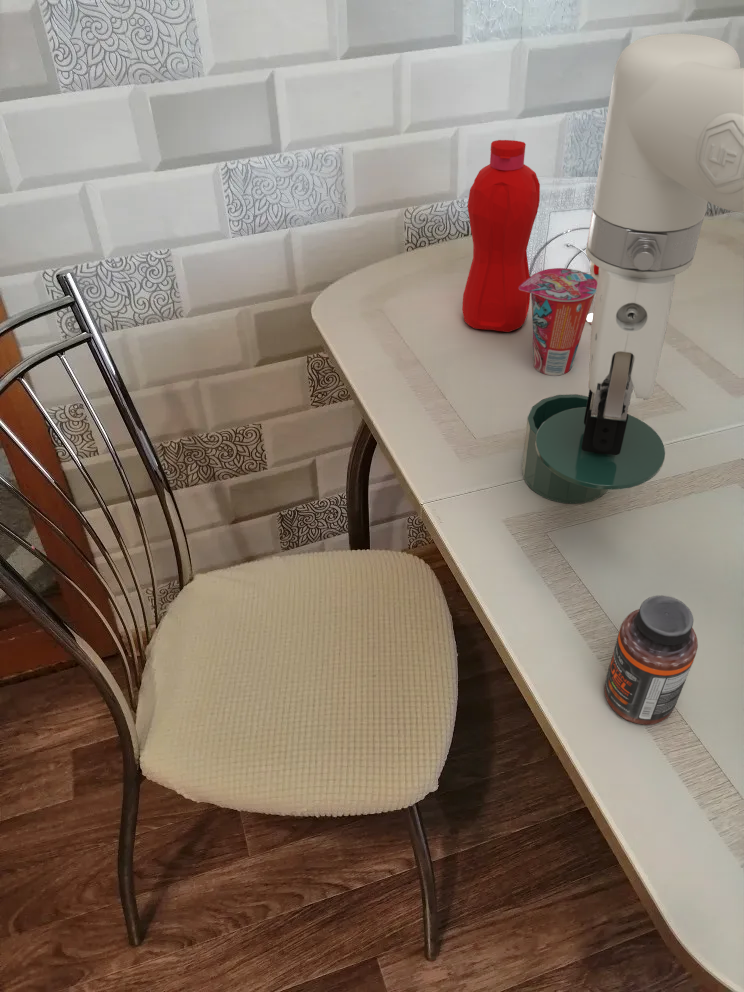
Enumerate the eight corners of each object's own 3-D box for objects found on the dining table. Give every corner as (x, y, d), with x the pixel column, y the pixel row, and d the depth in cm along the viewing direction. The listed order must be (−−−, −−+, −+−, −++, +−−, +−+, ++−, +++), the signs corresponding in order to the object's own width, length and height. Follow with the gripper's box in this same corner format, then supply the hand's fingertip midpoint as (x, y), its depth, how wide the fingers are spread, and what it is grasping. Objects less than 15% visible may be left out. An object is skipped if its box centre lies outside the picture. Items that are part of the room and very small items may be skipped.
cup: (553, 341, 111) (564, 261, 103) (597, 368, 106) (612, 286, 98) (502, 363, 108) (509, 281, 100) (545, 392, 102) (556, 308, 94)
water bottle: (532, 300, 120) (551, 126, 104) (522, 337, 112) (541, 156, 96) (471, 294, 122) (480, 123, 106) (458, 330, 115) (465, 151, 98)
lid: (644, 414, 74) (659, 354, 70) (678, 493, 66) (697, 430, 62) (526, 417, 74) (533, 357, 70) (545, 496, 66) (554, 434, 62)
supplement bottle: (589, 679, 70) (611, 594, 62) (649, 661, 71) (677, 575, 64) (626, 737, 66) (654, 653, 58) (688, 716, 67) (724, 631, 59)
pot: (601, 445, 94) (612, 393, 89) (620, 502, 87) (633, 448, 82) (516, 447, 94) (522, 395, 89) (528, 504, 87) (535, 451, 82)
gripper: (703, 294, 50) (645, 507, 63) (692, 194, 62) (645, 390, 74) (582, 284, 52) (549, 493, 64) (593, 188, 63) (563, 381, 76)
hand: (601, 436), depth 69 cm, fingers closed on lid, 2 cm apart
